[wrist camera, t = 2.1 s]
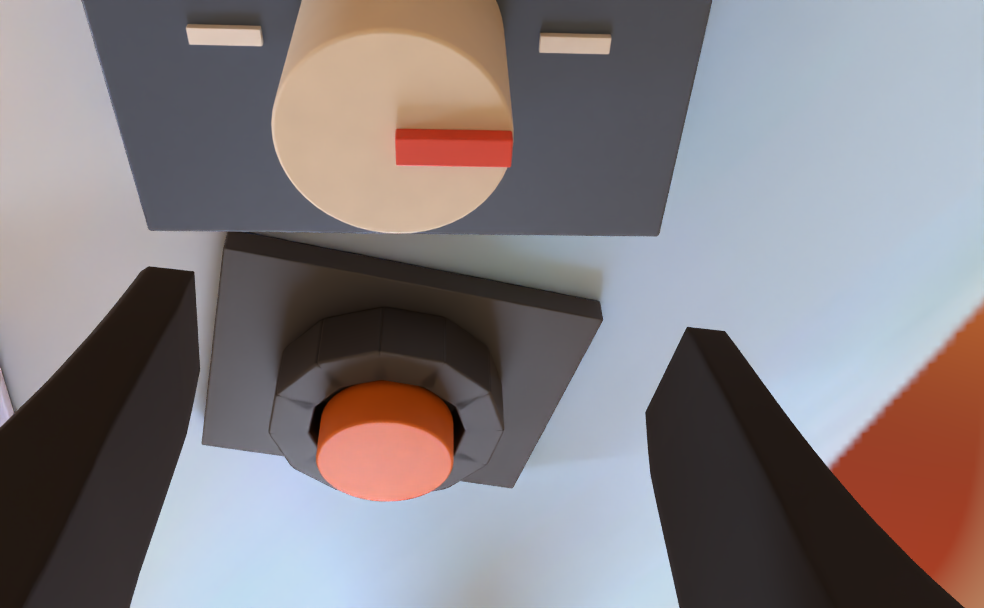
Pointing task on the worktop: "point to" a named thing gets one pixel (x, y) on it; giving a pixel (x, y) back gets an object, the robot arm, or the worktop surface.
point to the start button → (385, 441)
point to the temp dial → (395, 110)
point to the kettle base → (385, 351)
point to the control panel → (534, 101)
